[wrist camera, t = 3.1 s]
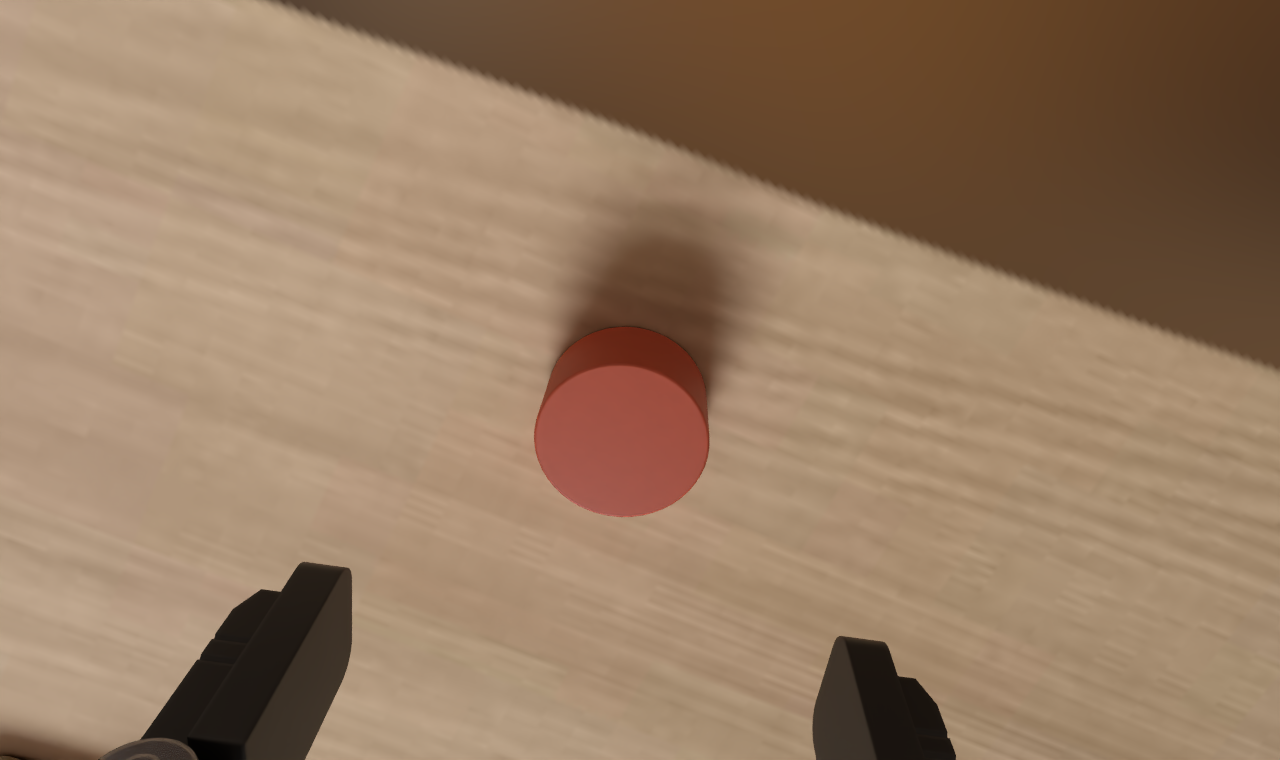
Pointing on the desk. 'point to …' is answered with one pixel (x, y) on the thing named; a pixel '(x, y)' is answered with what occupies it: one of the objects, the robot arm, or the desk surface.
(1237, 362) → the desk surface
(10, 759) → the puzzle board
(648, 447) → the cylinder
